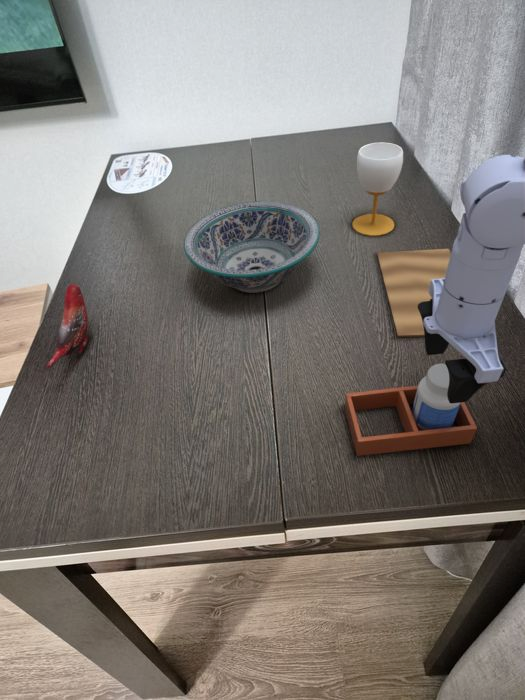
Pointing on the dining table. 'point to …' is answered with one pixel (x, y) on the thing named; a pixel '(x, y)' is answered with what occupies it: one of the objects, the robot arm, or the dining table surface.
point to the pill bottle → (434, 401)
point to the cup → (377, 183)
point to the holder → (403, 423)
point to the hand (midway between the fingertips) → (445, 375)
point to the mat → (411, 284)
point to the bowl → (252, 243)
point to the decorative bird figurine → (72, 325)
